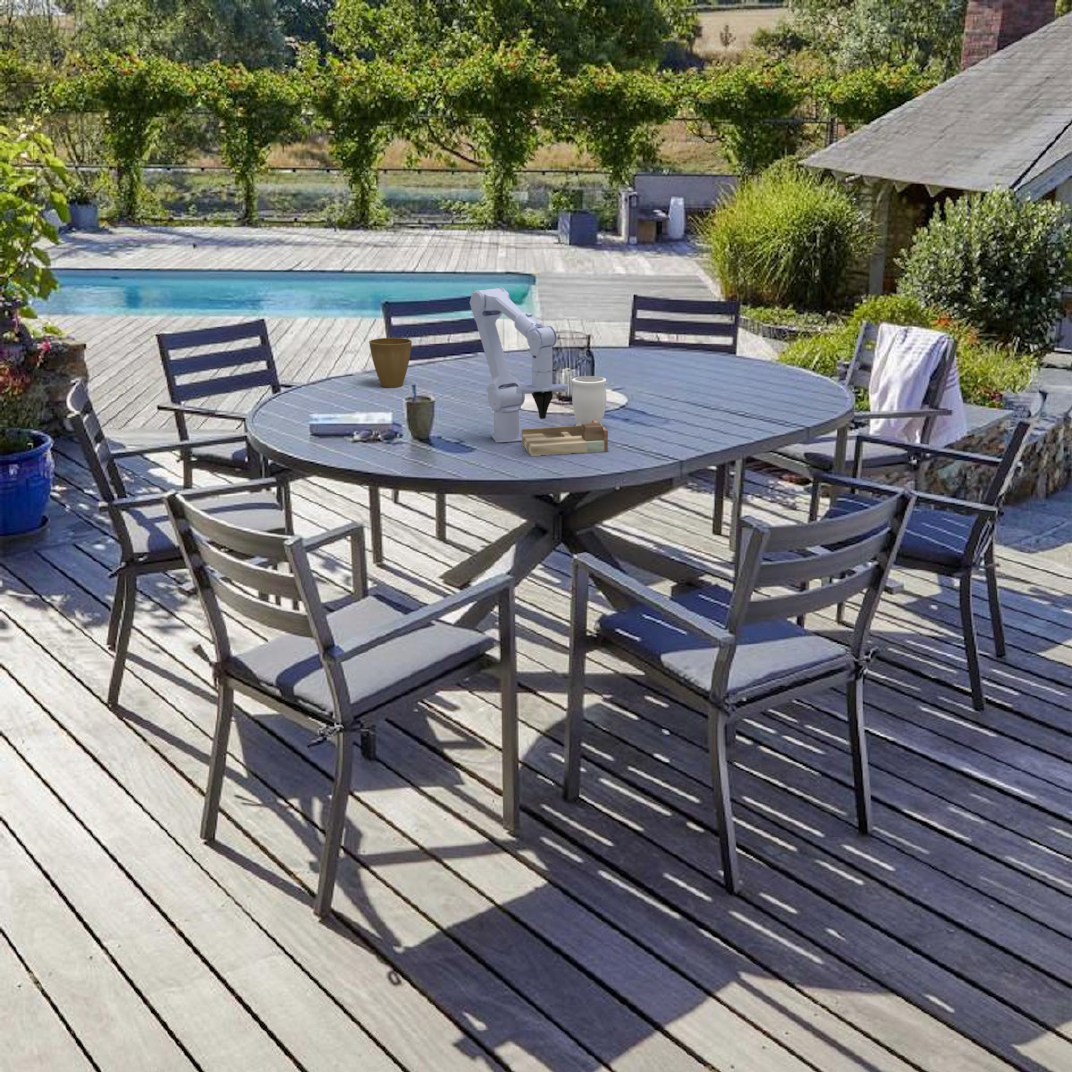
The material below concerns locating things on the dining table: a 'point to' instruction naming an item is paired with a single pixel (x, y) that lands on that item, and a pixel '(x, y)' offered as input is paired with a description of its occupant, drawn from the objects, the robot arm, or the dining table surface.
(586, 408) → the jar
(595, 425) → the walnut block
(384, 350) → the plant pot
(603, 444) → the trap box
